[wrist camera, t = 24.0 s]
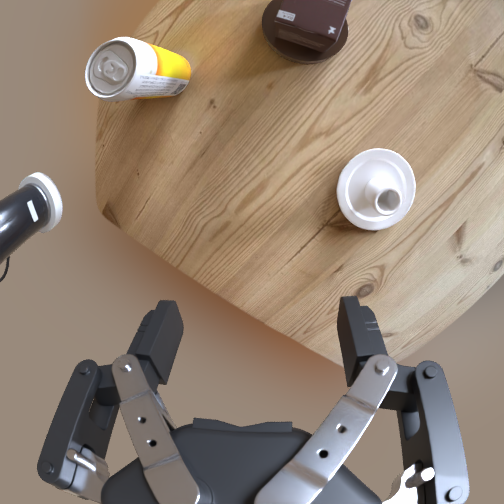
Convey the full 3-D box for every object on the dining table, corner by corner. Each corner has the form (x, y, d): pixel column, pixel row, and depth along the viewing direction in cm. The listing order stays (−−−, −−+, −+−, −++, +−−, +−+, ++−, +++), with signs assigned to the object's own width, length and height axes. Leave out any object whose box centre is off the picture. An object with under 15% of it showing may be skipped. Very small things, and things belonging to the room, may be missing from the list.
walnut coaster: (266, 65, 28) (266, 62, 26) (259, -2, 23) (258, -8, 21) (346, 65, 27) (352, 63, 25) (338, -1, 22) (342, -7, 20)
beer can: (167, 46, 27) (107, 25, 14) (202, 69, 29) (155, 54, 16) (140, 82, 30) (71, 83, 17) (173, 105, 31) (114, 115, 19)
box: (338, 15, 22) (355, -3, 15) (324, 54, 25) (337, 43, 19) (289, -2, 21) (292, -26, 15) (273, 37, 24) (273, 20, 18)
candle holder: (318, 182, 36) (323, 193, 32) (385, 130, 31) (398, 135, 27) (365, 242, 40) (373, 258, 36) (425, 197, 35) (439, 208, 31)
